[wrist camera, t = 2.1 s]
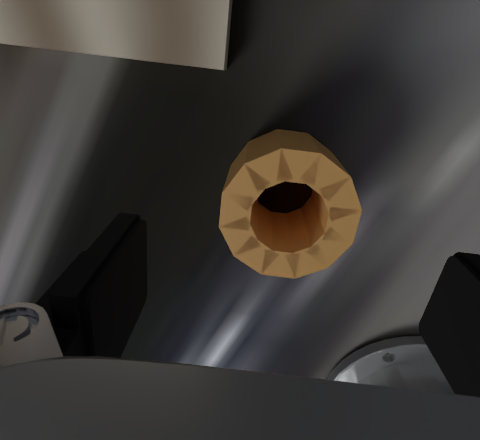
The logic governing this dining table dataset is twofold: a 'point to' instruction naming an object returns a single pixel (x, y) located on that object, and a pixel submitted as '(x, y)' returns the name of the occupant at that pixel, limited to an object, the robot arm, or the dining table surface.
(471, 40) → the dining table surface
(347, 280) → the dining table surface
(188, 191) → the dining table surface
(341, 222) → the collar
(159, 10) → the post base
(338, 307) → the dining table surface
